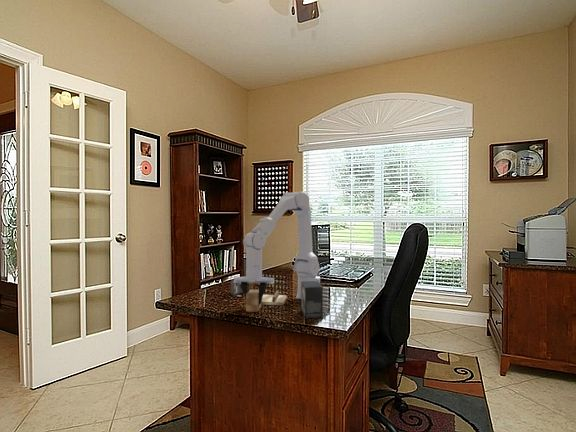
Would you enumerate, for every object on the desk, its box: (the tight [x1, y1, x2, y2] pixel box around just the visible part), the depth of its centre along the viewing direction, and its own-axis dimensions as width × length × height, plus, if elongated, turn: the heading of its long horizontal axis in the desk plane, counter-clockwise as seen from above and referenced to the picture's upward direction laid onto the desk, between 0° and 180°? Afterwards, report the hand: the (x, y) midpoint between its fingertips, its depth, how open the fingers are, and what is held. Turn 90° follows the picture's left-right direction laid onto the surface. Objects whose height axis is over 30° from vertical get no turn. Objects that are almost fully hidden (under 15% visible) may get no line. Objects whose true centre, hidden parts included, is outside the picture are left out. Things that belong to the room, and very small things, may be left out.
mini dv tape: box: [230, 279, 243, 296], centre depth 150 cm, size 8×2×6 cm, turn 152°
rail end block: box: [245, 289, 262, 313], centre depth 125 cm, size 4×8×6 cm, turn 174°
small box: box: [300, 281, 324, 319], centre depth 119 cm, size 11×6×10 cm, turn 5°
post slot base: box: [261, 290, 288, 306], centre depth 137 cm, size 14×12×3 cm
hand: (253, 303), depth 125 cm, fingers closed on rail end block, 4 cm apart
